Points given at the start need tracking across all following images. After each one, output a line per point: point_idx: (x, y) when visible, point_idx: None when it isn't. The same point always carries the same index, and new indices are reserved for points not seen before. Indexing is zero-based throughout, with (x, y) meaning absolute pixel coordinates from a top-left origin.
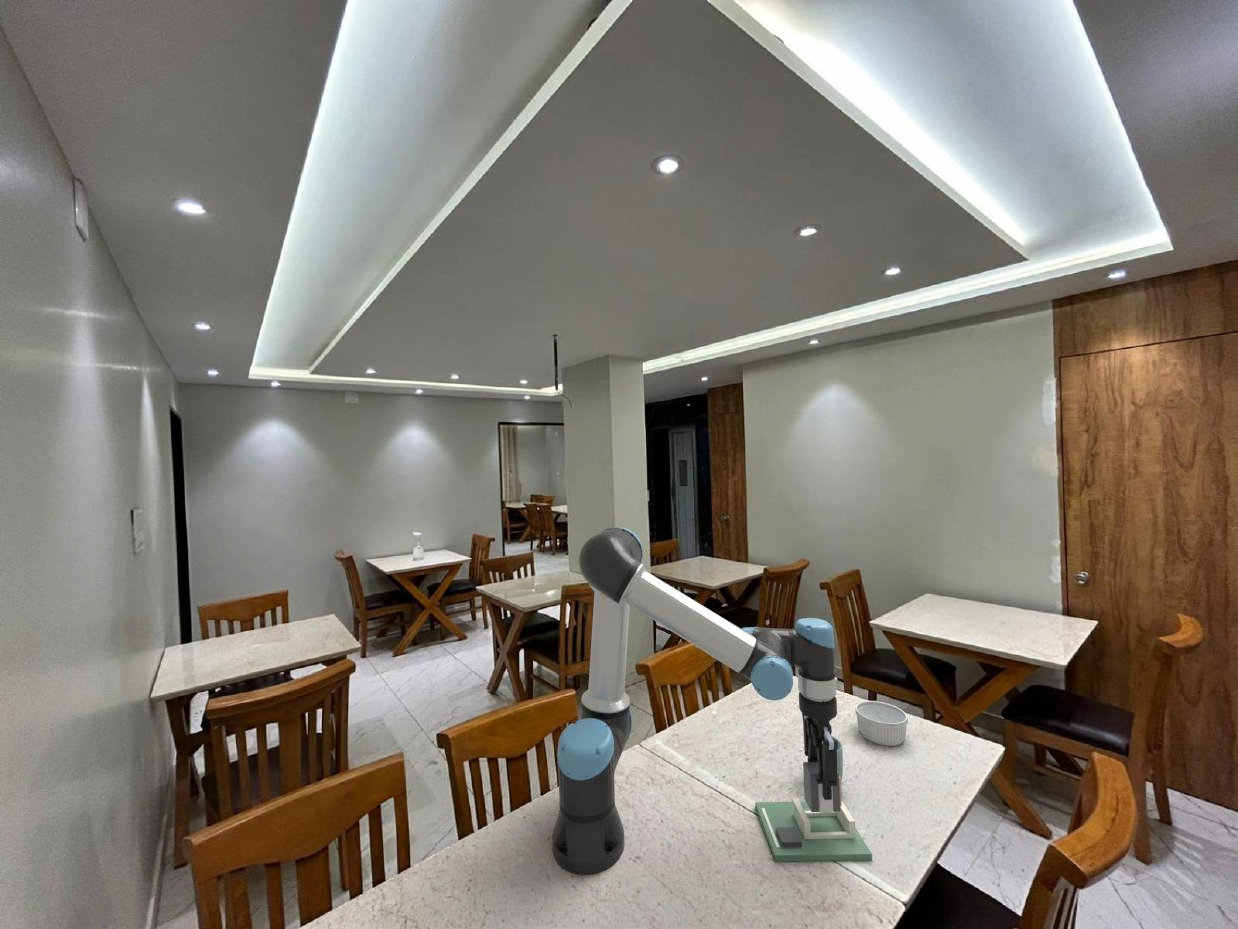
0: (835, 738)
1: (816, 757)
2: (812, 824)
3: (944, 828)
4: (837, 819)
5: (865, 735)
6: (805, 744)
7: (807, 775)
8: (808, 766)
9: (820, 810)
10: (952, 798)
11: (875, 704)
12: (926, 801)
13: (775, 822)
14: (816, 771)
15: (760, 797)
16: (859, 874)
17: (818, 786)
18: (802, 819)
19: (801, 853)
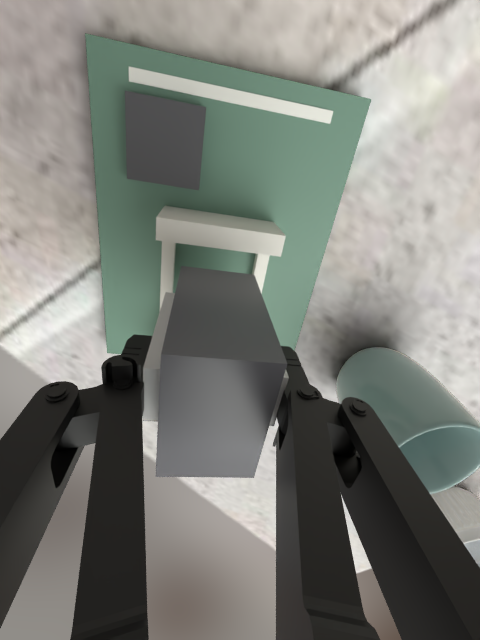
0: (431, 492)
1: (283, 446)
2: (222, 261)
3: (190, 483)
4: None
5: (444, 493)
6: (381, 458)
7: (212, 335)
8: (238, 376)
9: (164, 298)
10: (253, 518)
11: None
12: (256, 490)
13: (253, 134)
14: (181, 396)
15: (398, 153)
16: (64, 296)
17: (161, 349)
18: (176, 219)
19: (100, 159)
